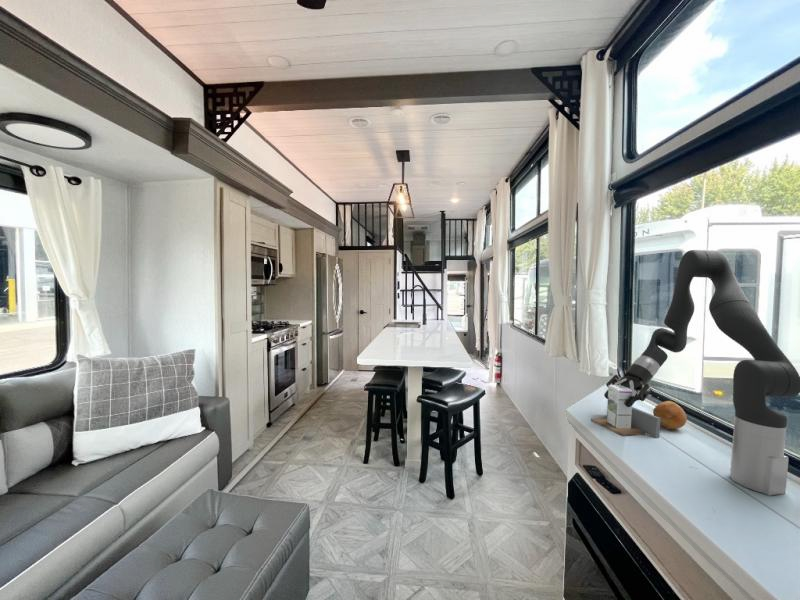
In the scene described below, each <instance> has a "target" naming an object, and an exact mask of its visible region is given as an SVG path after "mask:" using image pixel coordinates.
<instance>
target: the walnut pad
mask: <svg viewBox="0 0 800 600" xmlns="http://www.w3.org/2000/svg"><path fill="white" fill-rule="evenodd" d="M590 421H592V422H594V423H595V424H597V425H600V426H602V427H604V428H606V429H607V430H610V431H612V432H614V433H616V434H617V435H620V436H622V437H629V436H643V435H647V434H646V433H645V432H643V431H641V430H639V429H637V428H634V427H632V426H631V429H620V428H615V427H614V426H612V425H611V424H609V423H607V417H597V418H596V417H594V418H590Z"/></svg>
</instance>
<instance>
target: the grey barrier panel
mask: <svg viewBox="0 0 800 600" xmlns="http://www.w3.org/2000/svg"><path fill="white" fill-rule="evenodd" d="M660 419H661V418H659V417H657V416H654V414H653V413H652V414H651V413H649V412H646V411H645V410H644V411H643V410H641V409H638V408H636V407H634V406H632V414H631V426H632V427H634V428H637V429H639V430H641V431H643V432H645V433H646V434H645V435H648V436H650V437H653V438H654V439H659V438H660V431H661V430H660V428H661V425H660Z"/></svg>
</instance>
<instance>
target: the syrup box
mask: <svg viewBox="0 0 800 600" xmlns="http://www.w3.org/2000/svg"><path fill="white" fill-rule="evenodd" d="M607 388H608V389H607V390H608V399H607V409H606V418H607V423H609V424H611V425H612V426H614V427H615V428H620V429H631V414H632V407H633V405H632V406H631V407H626V406H625V404H624V402H625V401H626V400H627V399H628V398H629V397H630V396H632V395H631V392H632V390H630V389H629V388H626V387H624V386H621V385H612V384H611V385H609V387H607Z"/></svg>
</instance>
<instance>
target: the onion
mask: <svg viewBox="0 0 800 600" xmlns="http://www.w3.org/2000/svg"><path fill="white" fill-rule="evenodd" d="M652 415H654V416H657V417H659V418H661V419H660V426H662V427H664V428H666V429H668V430H677V429H680V428H682V427H684V426H685V425H686V424H687V421H688V420H687V419H688V418H687V414H686V412H685V411H684V409H683V408H682V407H681V406H680V405H678V404H677V403H676V402H673V401H672V400H665V401H662V402H660V403H658V404H657V405H656V406H655V407H654V408H653V409H652Z"/></svg>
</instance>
